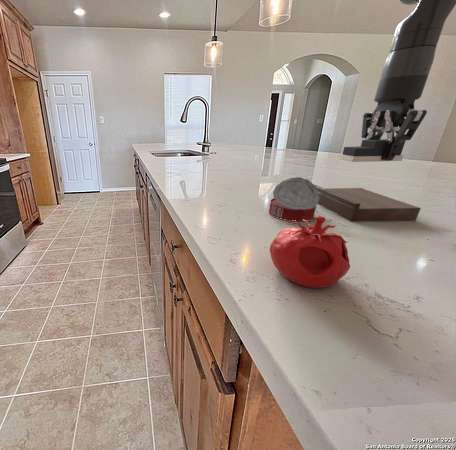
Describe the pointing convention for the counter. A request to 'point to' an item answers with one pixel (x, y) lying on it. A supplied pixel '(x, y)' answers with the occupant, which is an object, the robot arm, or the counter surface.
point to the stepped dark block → (369, 151)
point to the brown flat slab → (365, 205)
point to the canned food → (294, 200)
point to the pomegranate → (310, 255)
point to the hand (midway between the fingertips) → (377, 158)
